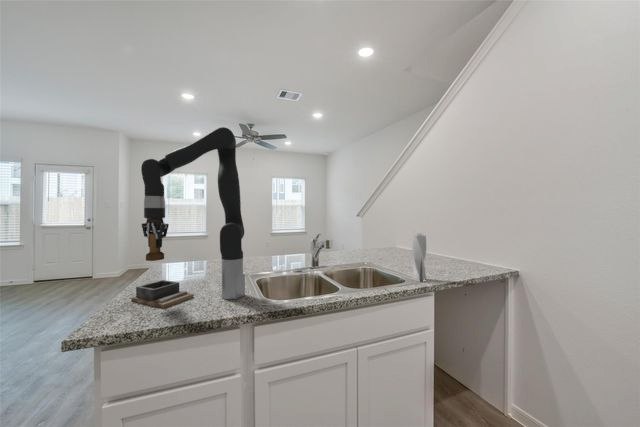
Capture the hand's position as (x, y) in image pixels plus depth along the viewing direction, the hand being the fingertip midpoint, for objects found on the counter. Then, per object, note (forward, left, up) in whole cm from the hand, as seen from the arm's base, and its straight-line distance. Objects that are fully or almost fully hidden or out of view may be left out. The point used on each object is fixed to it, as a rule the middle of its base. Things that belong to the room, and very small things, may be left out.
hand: (155, 247), depth 107 cm
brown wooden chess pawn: (0, 0, -6) cm, 6 cm away
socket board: (-1, -3, -23) cm, 23 cm away
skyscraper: (-103, -82, -24) cm, 134 cm away
